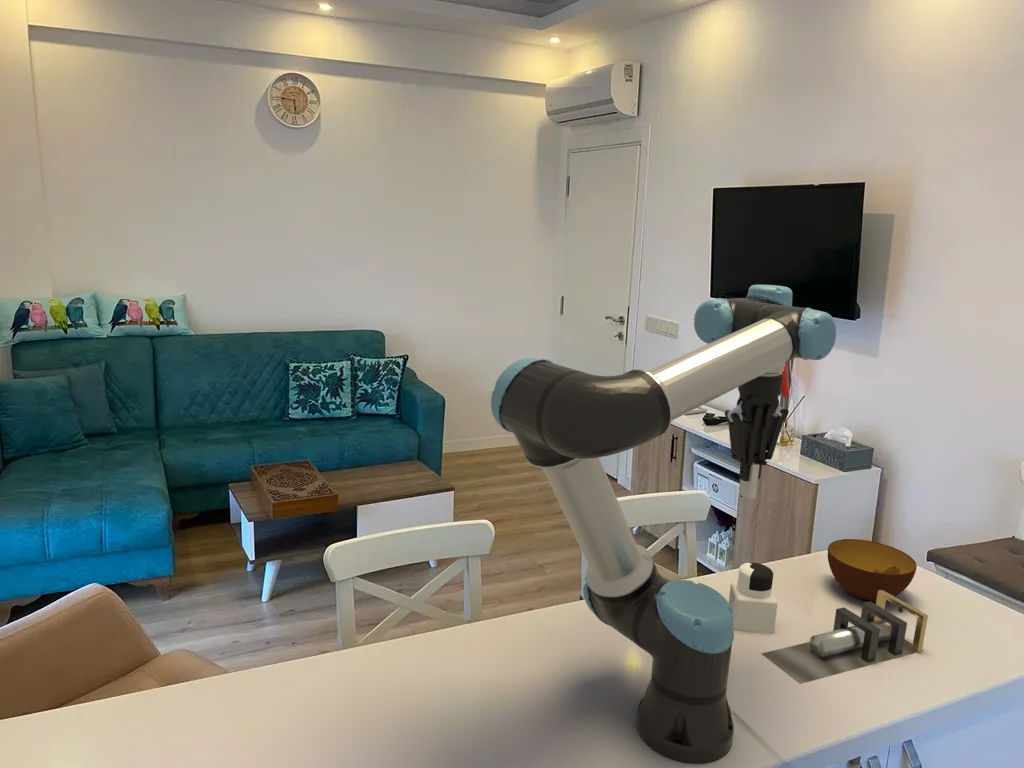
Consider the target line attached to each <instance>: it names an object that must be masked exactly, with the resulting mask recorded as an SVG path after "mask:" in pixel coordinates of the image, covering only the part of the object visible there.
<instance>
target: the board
mask: <svg viewBox="0 0 1024 768" xmlns="http://www.w3.org/2000/svg"><path fill="white" fill-rule="evenodd" d="M912 646H913V642H910V641H909V640H907V639H906V638H905V639H904V645H903V651H902V654H899V655H895V656H894V655H893V654H891V653H890V652H888V647H889V641H884V642H880V643H878V647H877V653H876V659H875V661H873V662H869V663H867V662H865V661H864V660H862V659H861V654H862V648H863V647H861V648H857V649H853V650H849V651H846V652H842V653H838V654H834V655H830V656H826V657H822V658H819V657H817V656H816V655H814V653H813V652H812V650H811V648H810V641H807V642H803V643H799V644H794V645H791V646H787V647H783V648H779V649H774V650H771V651H766V652H761V653H760V654H761V655H762V656H763V657H765V658H766V659H767V660H769V662H771V663H772V664H774V665H775V666H776V667H778V668H779V669H780V670H781V671H782V672H784V673H785V674H787V676H789V677H790V678H791V679H793V680H794V681H796V682H797V683H798V684H799V685H803V684H805V683H810V682H813V681H816V680H820V679H821V680H822V679H824V678H828V677H832V676H835V675H838V674H842V673H847V672H850V671H853V670H858V669H861V668H865V667H869V666H873V665H876V664H879V663H883V662H887V661H892V660H895V659H899V658H903V657H906V656H909V655H913V654H917V653H916V652H914V651H912ZM922 652H924V650H923V649H922Z"/></svg>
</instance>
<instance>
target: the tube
mask: <svg viewBox="0 0 1024 768" xmlns="http://www.w3.org/2000/svg"><path fill="white" fill-rule="evenodd" d="M869 623H871V624H872V625H874V626H876V627H877V628H879V629H880V634H879V640H878V643H880V642H884V641H890V635H891V629H892V625H891V624H889V623H887V622H886V621H884V620H882V619H880V620H876V621H872V622H869ZM864 635H865V632H864V631H863V630H861V629H859V628H858V627H856V626H855V625H852V626H848V627H847V628H843V629H839V630H835V631H833V630H832V631H831V630H830V631H827V632H823V633H818V634H815V635H812V636H811V637H810V639H809V642H810V648H811V650H812V652H813V653H814V655H816V656H817V657H819V658H822V657H826V656H830V655H834V654H838V653H842V652H846V651H849V650H853V649H857V648H861V647H863V641H864Z"/></svg>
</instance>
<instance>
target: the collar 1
mask: <svg viewBox="0 0 1024 768" xmlns="http://www.w3.org/2000/svg"><path fill="white" fill-rule="evenodd" d="M849 624H852V626H856V627H858V628H859V629H861V630H863V631H864V632H865V635H864V641H863V648H862V654H861V659H862V660H864V661H865V662H867V663H869V662H873V661H875V659H876V653H877V647H878V640H879V634H880V629H879V628H877V627H876V626H874V625H872V624H871V623H869V622H867V621H866V620H864V619H862V618H861V616H859V615H858V614H856V613H854V612H853V611H851V610H849V609H848V608H846V607H840V608H839V607H838V608H836V609H835V616H834V624H833V630H832V631H835V630H839V629H843V628H847V627H849Z"/></svg>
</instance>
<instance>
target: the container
mask: <svg viewBox="0 0 1024 768" xmlns="http://www.w3.org/2000/svg"><path fill="white" fill-rule="evenodd" d="M737 576H738V577H737V581H731V582H730V588H729V599H728V603H729V604H730V606H731V608H732V611H733V616H734V622H733V628H734V631H743V632H755V633H766V634H774V633H775V628H776V620H777V619H776V618H777V612H778V611H777V610H778V601H777V599H776V597H775V595H774V593H773V590H772V589H773V582H774V571H773V570H772V569H771V568H770V567H768V566H767V565H765V564H762V563H759V562H745V563H743V564H741V565H740V566H739V568H738V575H737Z"/></svg>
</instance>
